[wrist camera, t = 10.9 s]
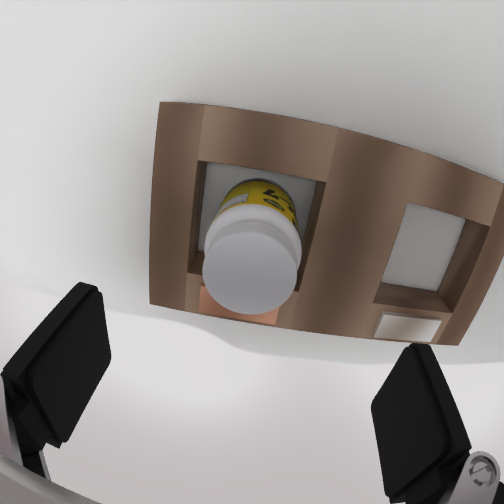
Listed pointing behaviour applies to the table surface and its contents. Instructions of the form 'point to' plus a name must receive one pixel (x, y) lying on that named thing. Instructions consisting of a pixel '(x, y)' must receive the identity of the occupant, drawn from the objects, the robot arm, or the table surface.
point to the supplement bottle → (253, 248)
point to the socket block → (325, 223)
